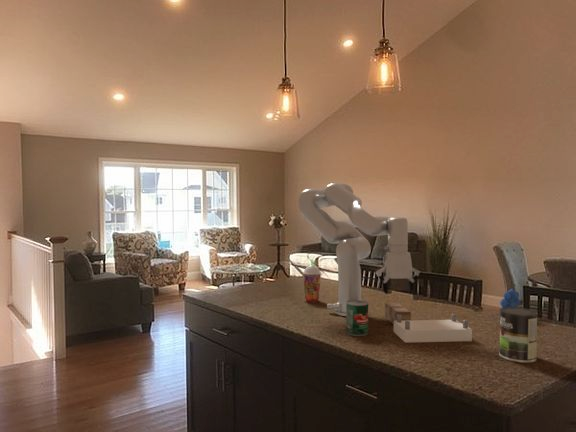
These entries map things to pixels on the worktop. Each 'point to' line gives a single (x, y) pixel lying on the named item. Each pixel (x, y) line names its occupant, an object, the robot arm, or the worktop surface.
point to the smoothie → (312, 282)
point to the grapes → (510, 299)
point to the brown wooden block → (396, 312)
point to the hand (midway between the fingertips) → (397, 292)
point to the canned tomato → (357, 317)
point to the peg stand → (432, 330)
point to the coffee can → (518, 334)
